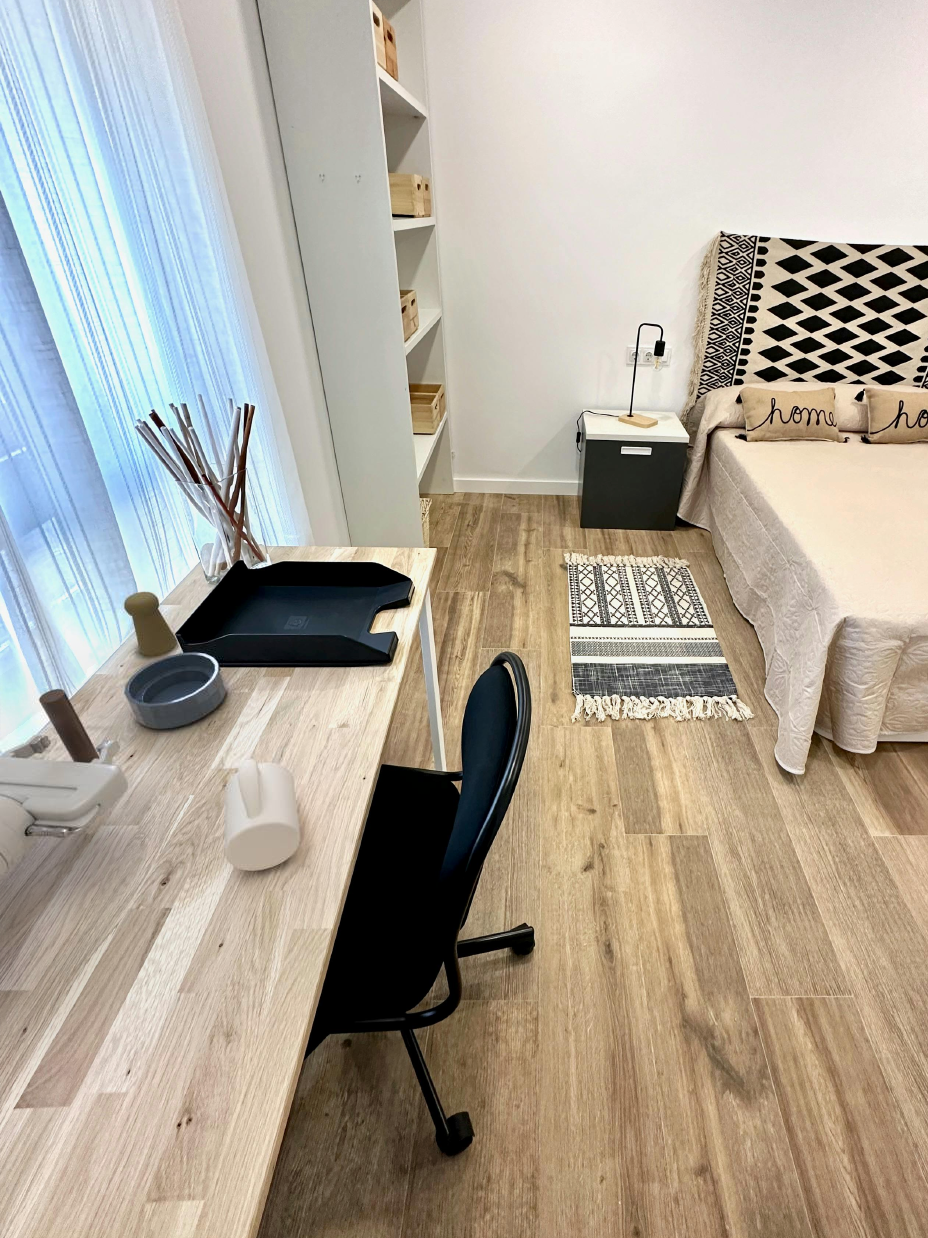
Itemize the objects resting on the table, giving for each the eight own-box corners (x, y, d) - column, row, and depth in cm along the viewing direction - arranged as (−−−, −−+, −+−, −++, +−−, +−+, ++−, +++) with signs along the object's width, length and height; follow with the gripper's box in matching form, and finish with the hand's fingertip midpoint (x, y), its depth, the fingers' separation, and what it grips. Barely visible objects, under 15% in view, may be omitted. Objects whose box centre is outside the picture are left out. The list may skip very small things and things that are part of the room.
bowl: (121, 735, 94) (108, 709, 91) (156, 680, 105) (145, 655, 102) (212, 728, 96) (203, 702, 93) (237, 674, 107) (228, 649, 104)
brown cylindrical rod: (90, 801, 84) (34, 703, 74) (99, 786, 86) (46, 689, 76) (111, 799, 84) (57, 701, 74) (119, 785, 86) (68, 687, 77)
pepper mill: (172, 632, 117) (154, 583, 111) (180, 647, 113) (161, 597, 107) (136, 644, 114) (115, 594, 108) (143, 660, 110) (121, 609, 104)
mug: (234, 880, 74) (207, 816, 68) (234, 815, 82) (209, 752, 76) (306, 856, 77) (286, 793, 71) (299, 795, 85) (280, 733, 79)
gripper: (66, 820, 66) (147, 728, 78) (-113, 806, 67) (-7, 718, 79) (88, 855, 69) (162, 763, 81) (-83, 842, 70) (15, 752, 82)
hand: (78, 740), depth 80 cm, fingers open, 8 cm apart
